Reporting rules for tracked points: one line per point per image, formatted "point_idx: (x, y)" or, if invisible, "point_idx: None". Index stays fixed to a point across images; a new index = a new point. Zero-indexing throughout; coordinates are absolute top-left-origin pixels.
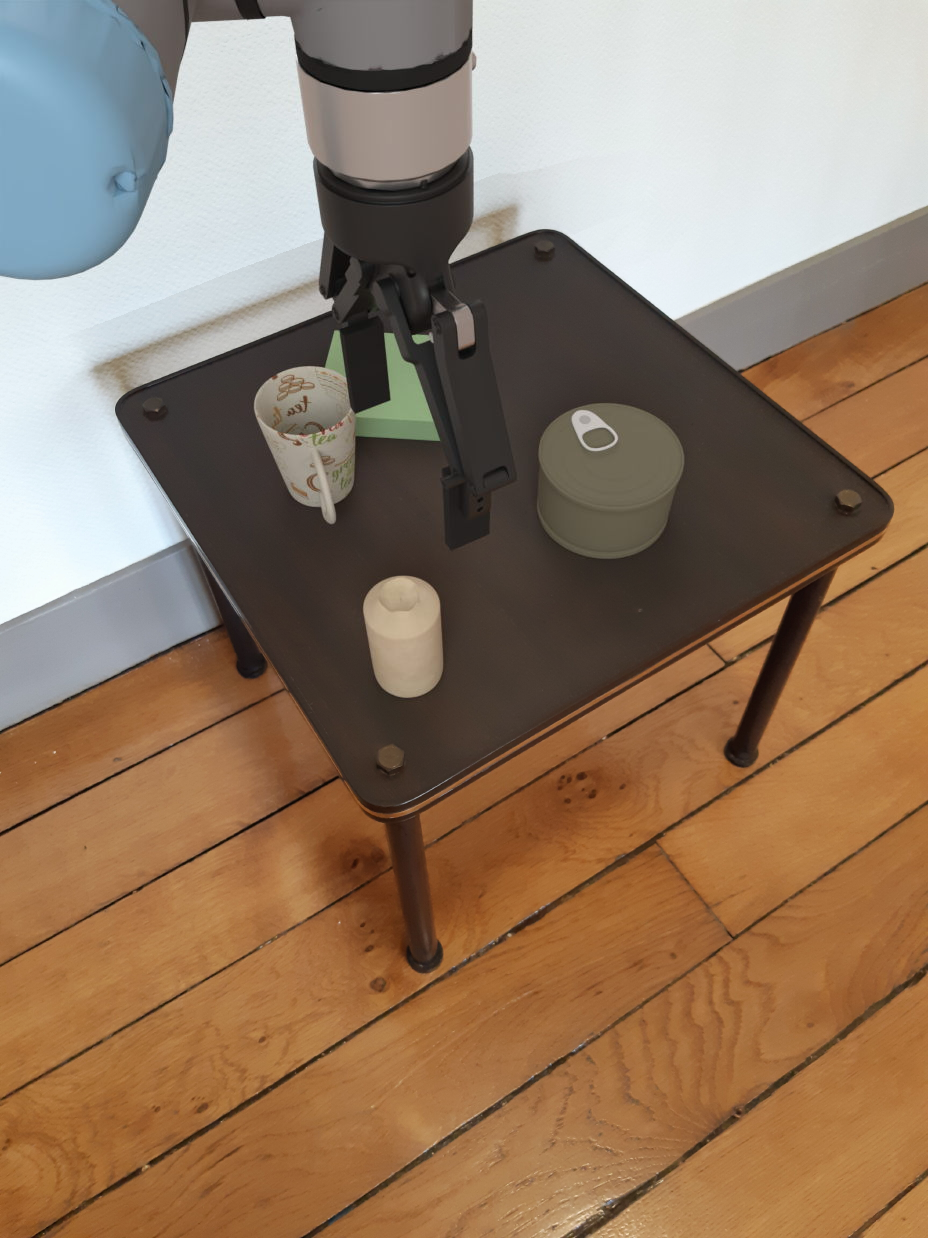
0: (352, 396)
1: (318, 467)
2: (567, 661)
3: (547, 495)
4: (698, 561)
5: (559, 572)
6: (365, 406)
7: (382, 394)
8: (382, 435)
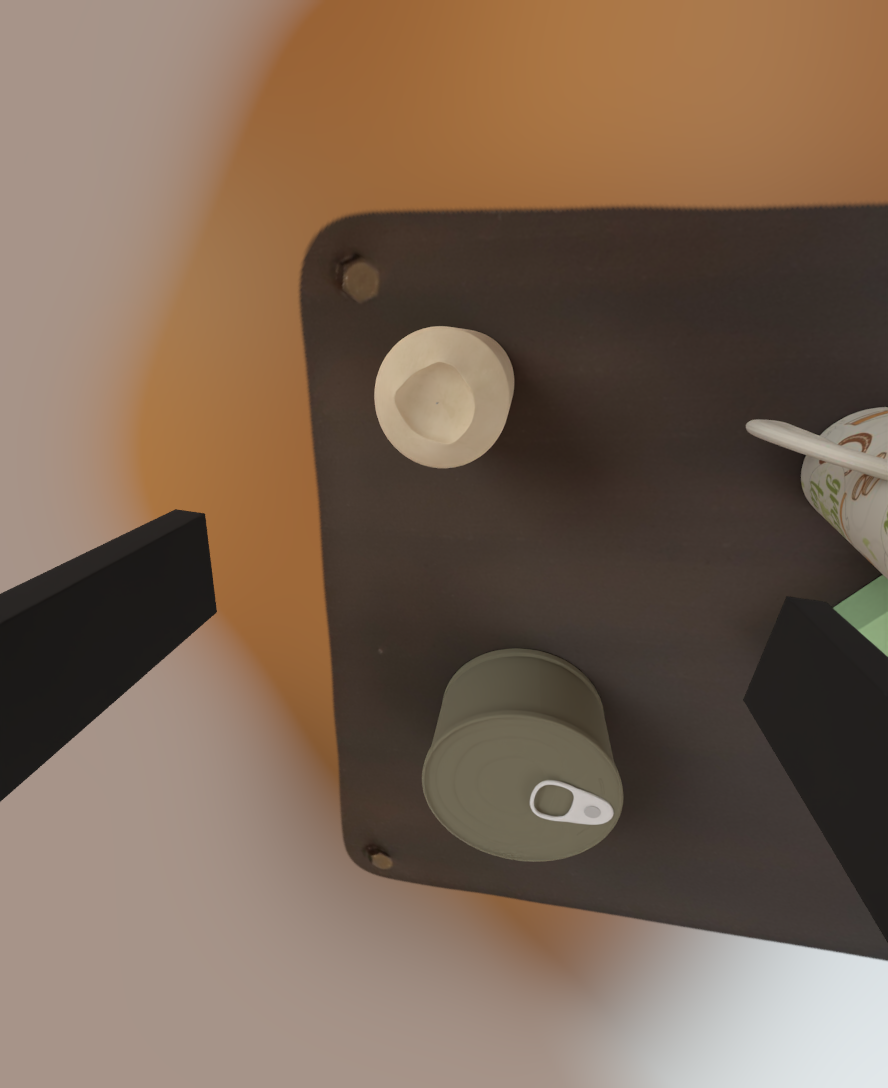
0: (830, 638)
1: (850, 455)
2: (366, 551)
3: (539, 693)
4: (398, 731)
5: (474, 622)
6: (779, 637)
7: (767, 703)
8: (855, 596)
